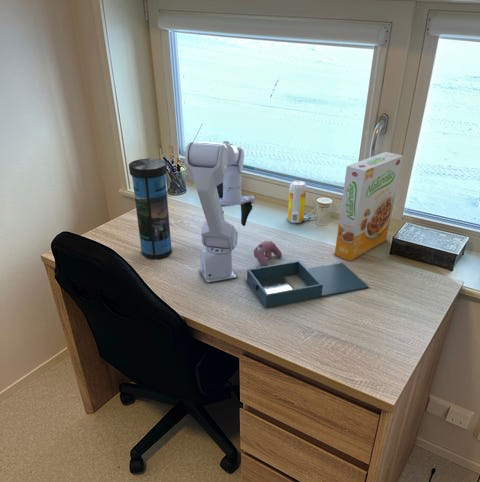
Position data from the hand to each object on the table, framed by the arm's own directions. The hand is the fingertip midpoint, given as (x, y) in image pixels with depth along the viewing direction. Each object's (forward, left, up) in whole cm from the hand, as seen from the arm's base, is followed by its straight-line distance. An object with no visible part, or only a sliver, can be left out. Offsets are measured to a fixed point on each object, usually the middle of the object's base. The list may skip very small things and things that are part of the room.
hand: (232, 226), depth 151 cm
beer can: (+32, +18, -10) cm, 38 cm away
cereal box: (+44, -10, -10) cm, 46 cm away
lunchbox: (+15, -26, -10) cm, 32 cm away
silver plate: (+5, -27, -10) cm, 29 cm away
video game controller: (+9, -8, -10) cm, 16 cm away
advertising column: (-24, +9, -10) cm, 28 cm away
